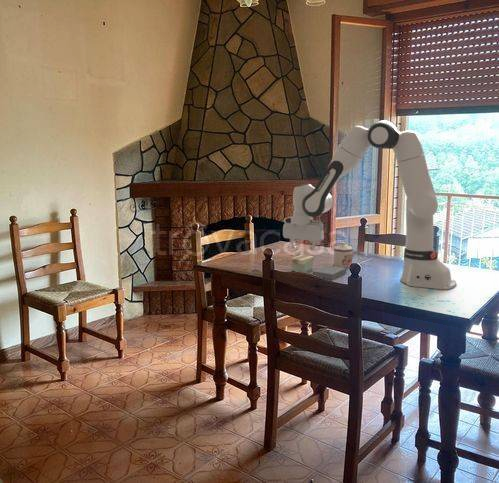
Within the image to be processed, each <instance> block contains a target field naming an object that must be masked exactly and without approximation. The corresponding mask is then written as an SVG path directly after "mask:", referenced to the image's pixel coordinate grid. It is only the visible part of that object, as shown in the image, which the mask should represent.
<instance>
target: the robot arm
mask: <svg viewBox="0 0 499 483" xmlns="http://www.w3.org/2000/svg"><path fill="white" fill-rule="evenodd" d="M370 147H373V148H376V149H384V150H387V149H389V150H393V152H394V154H395V155H394V156H395V160H396V164H397V167H398V172H399V176H400V181H401V184H402V186H403V190H404V192H405V196H406V201H405V202H406V203H405V219H406V222H405V226H406V227H405V228H406V231H405V232H406V233H405V234H406V235H405V247H404V251H403V261H404V262H403V263H404V264H403V268H402V272H401V277H400V279H399V280H400V281H401V282H402V283H404V284H406V285H407V286H409V287H414V288H415V287H416V288H425V289H435V290H436V289H437V290H451V289H453V288H455V287H456V286H457V281H456V280H454V279H452V276H451V275H452V274H451V270H450V268H449V267H448V266H446V264H444V263H443V262H441V261H440V260H439V259H438V254H439V250H437V251H436V250H435V249H434V239H435V238H434V237H435V229H434V228H435V227H434V215H435V214H436V212H437V211H438V205H439V204H438V199H437V194H436V191H435V188H434V184H433V181H432V179H431V175H430V173H429V169H428V164H427V159H426V156H425V152H424V149H423V145H422V143H421V140H420V138H419V136H418V134H417V133H416V132H415V131H413V130H404V131H399V129H398V126H397V125H396V124H395V123H394V122H392V121H390V120H379V121H377V122H375V123H373V124H372V125H370V127H369V128H367V127H364V126H361V125H354V126H352V127H351V128H350V129H349V130H348V131H347V133H346V134H345V135H344V137H343V138H342V140H341V141H340V143H339V144H338V146H337V148H336V150H335V152H334V155H333V156H332V158H331V161H330V162H329V164H328V166H327V168H326V170H325V171H324V173H323V174H322V176H321V178H320V179H319V181H318V183H317V184H316V186H313V185H312V184H310V183H303V184H302V183H301V184H299V185H296V186H295V187H294V189H293V193H292V206H293V211H292V215H291V216H288V217H285V218H284V219H283V223H284V224H283V226H282V236H283V238H284V239H289V242H290V243H291V245H292V249H297V248H298V244H297V243H296V242H295V240H301V241H302V240H303V241H311V243H312V245H311V246H309V250H310V251H315V248H316V244H318V242H322V241H323V240H324V239H325V232H324V223H323V222H322V221H321V220H314V219H313V218H316V217H319V216H320V215H322V214H324V213H326V212H328V211H330V210H331V209H332V208H333V206H334V197H333V195H332V194H331V191H332V190H333V188H334V186H335V185H336V183H338V181H339V180H340V179H341V178H343V176H345V175H347V174H348V173H350V172H352V171H353V170H354V169H355V168H356V167H357V166H358V165H359V163H360V161H361V160H362V158H363V156H364V155H365V153H366V151H368V149H369V148H370Z"/></svg>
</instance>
